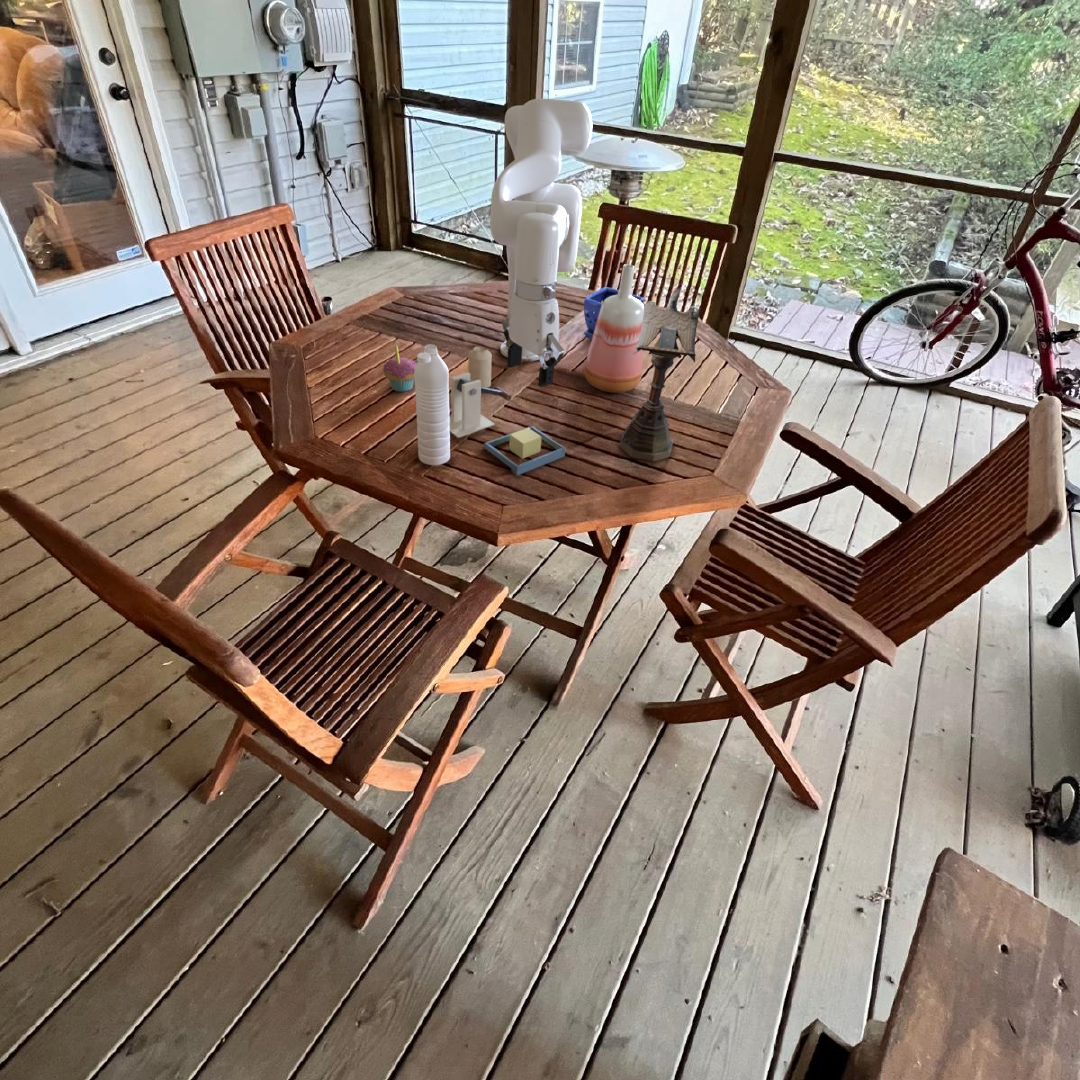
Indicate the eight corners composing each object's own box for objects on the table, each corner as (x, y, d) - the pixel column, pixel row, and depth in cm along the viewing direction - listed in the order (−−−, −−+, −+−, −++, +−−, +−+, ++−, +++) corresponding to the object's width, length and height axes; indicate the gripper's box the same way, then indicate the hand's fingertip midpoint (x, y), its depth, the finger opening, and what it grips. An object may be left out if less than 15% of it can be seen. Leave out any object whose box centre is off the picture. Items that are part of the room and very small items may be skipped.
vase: (650, 386, 176) (672, 268, 157) (615, 404, 167) (634, 281, 148) (606, 366, 183) (622, 251, 164) (571, 382, 174) (583, 263, 155)
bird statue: (675, 478, 144) (713, 315, 121) (613, 467, 145) (640, 304, 123) (681, 439, 156) (716, 285, 134) (624, 429, 158) (650, 275, 136)
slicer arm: (496, 394, 158) (499, 384, 157) (509, 403, 155) (513, 393, 154) (452, 386, 148) (456, 375, 148) (466, 395, 146) (469, 385, 145)
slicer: (473, 413, 159) (474, 366, 151) (494, 428, 154) (496, 380, 147) (437, 425, 154) (435, 377, 146) (457, 441, 149) (457, 392, 142)
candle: (494, 385, 170) (495, 347, 164) (484, 394, 167) (484, 355, 160) (475, 379, 172) (475, 341, 166) (464, 388, 168) (464, 349, 162)
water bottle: (424, 449, 146) (419, 336, 130) (453, 454, 145) (452, 341, 129) (411, 471, 139) (404, 355, 123) (442, 476, 138) (439, 360, 123)
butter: (527, 443, 149) (528, 427, 147) (540, 452, 147) (541, 436, 144) (509, 450, 147) (509, 434, 144) (522, 460, 144) (523, 443, 142)
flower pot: (640, 337, 199) (646, 297, 192) (619, 352, 190) (625, 310, 183) (600, 325, 204) (605, 285, 197) (578, 339, 195) (582, 298, 188)
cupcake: (412, 397, 163) (410, 350, 155) (378, 392, 164) (374, 344, 156) (424, 382, 169) (422, 335, 162) (391, 376, 170) (388, 330, 163)
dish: (531, 433, 154) (532, 425, 152) (564, 456, 147) (565, 447, 146) (484, 451, 147) (484, 442, 145) (516, 475, 140) (517, 467, 139)
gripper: (582, 300, 122) (572, 387, 133) (521, 270, 131) (517, 354, 142) (550, 308, 118) (543, 397, 129) (489, 277, 128) (488, 363, 138)
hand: (529, 375), depth 135 cm, fingers open, 9 cm apart
